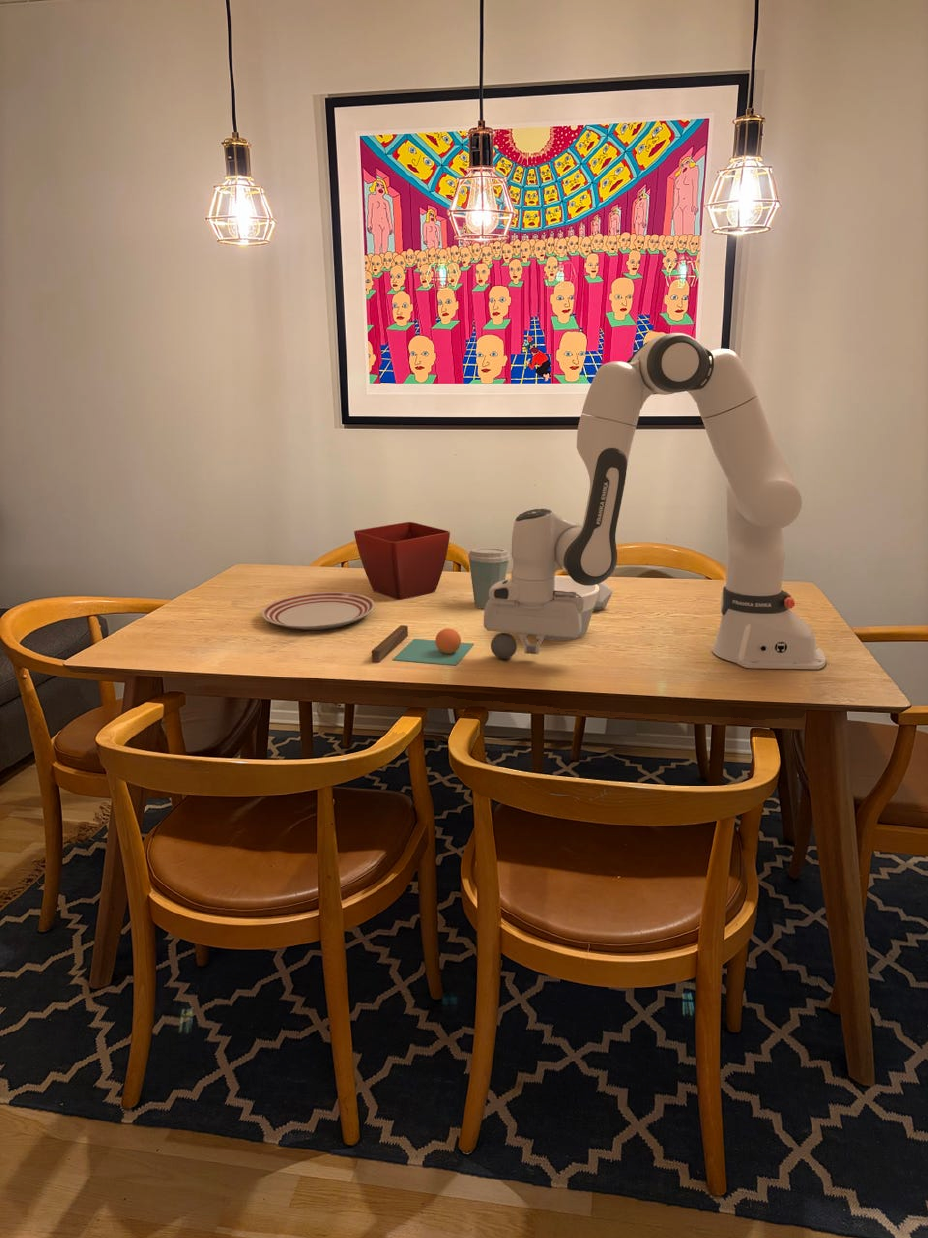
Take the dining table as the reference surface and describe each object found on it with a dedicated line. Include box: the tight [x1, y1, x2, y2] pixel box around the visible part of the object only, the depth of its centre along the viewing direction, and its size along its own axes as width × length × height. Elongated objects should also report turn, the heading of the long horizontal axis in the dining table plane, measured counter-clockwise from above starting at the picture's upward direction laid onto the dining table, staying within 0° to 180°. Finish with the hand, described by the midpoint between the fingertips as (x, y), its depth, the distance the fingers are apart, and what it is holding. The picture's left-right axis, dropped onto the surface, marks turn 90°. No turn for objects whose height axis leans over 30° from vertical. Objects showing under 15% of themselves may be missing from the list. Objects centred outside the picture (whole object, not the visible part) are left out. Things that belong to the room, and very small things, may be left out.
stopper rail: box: [371, 624, 409, 663], centre depth 184 cm, size 2×18×2 cm, turn 165°
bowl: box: [528, 575, 599, 641], centre depth 194 cm, size 19×19×11 cm
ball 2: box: [490, 632, 518, 660], centre depth 177 cm, size 6×6×6 cm
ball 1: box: [435, 627, 462, 654], centre depth 180 cm, size 6×6×6 cm
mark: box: [392, 638, 474, 667], centre depth 182 cm, size 14×14×1 cm
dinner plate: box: [261, 591, 376, 631], centre depth 206 cm, size 27×27×3 cm
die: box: [593, 580, 614, 611], centre depth 211 cm, size 8×9×10 cm
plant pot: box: [353, 521, 451, 600], centre depth 227 cm, size 19×19×17 cm
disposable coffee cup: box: [467, 547, 511, 610], centre depth 213 cm, size 11×11×15 cm
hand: (531, 653), depth 176 cm, fingers closed
